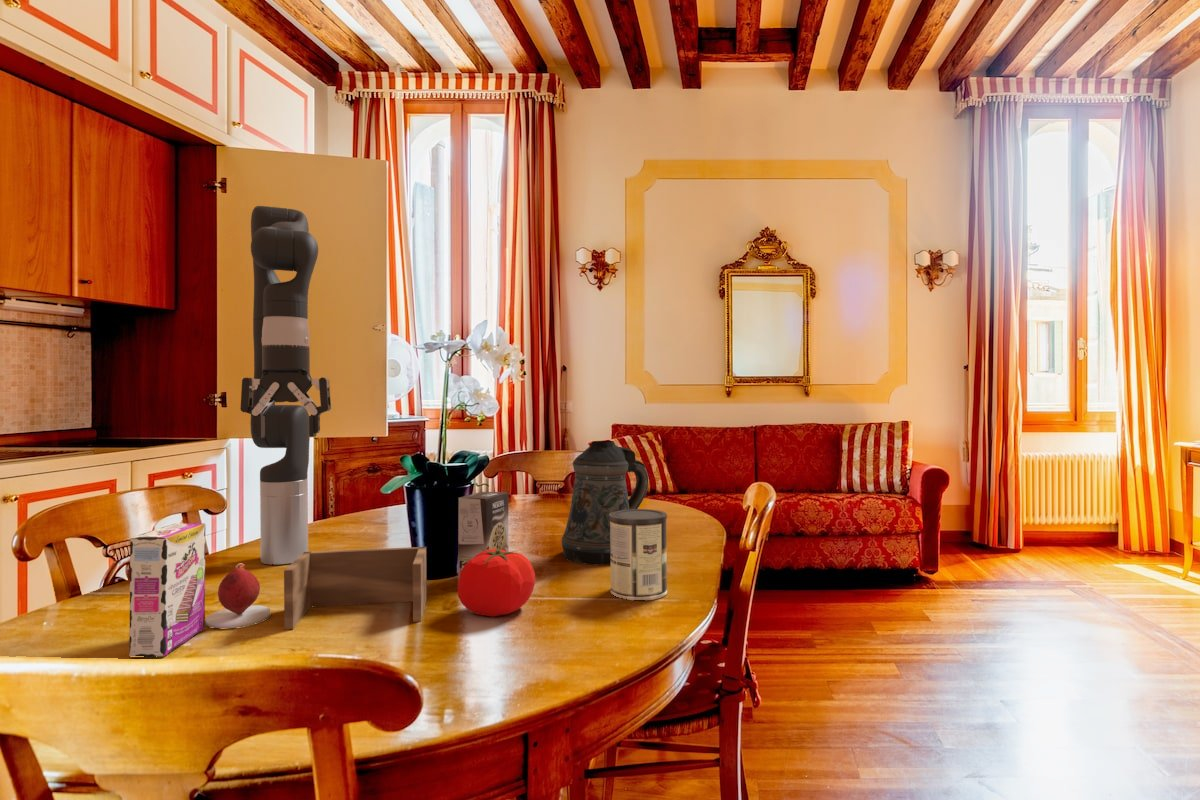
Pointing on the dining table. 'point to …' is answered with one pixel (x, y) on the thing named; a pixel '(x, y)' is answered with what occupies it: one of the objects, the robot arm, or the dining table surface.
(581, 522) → the beer stein
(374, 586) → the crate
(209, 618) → the coaster
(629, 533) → the coffee can
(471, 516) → the coffee box
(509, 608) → the tomato
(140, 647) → the candy bar box
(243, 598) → the onion
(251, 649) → the dining table surface
